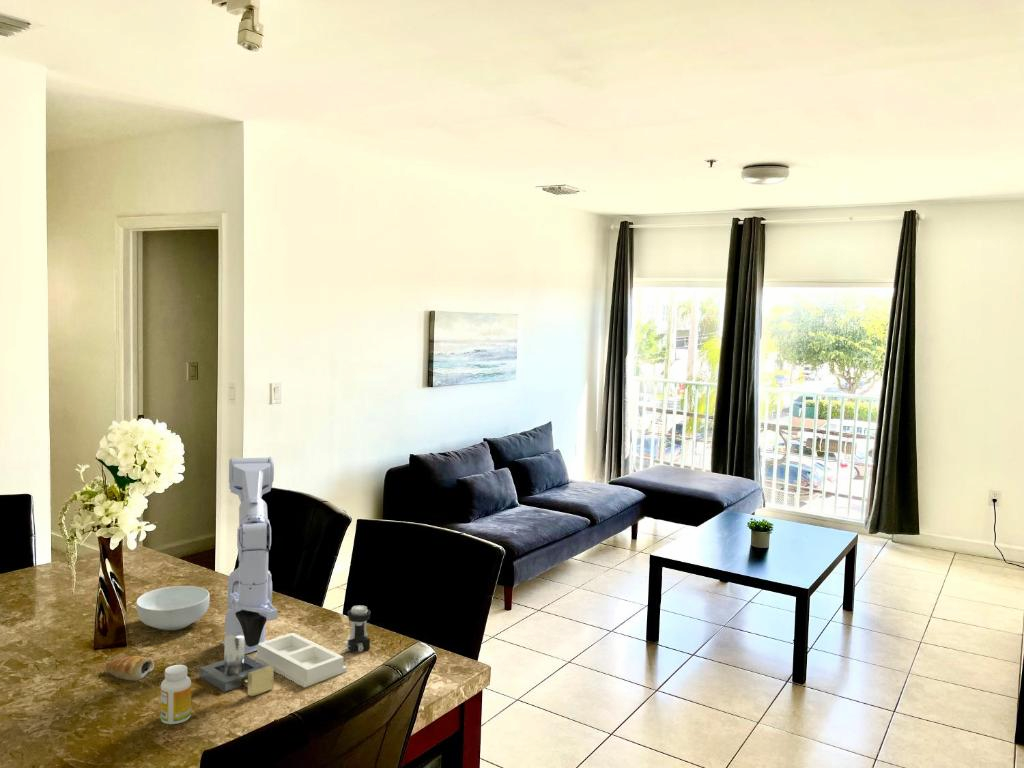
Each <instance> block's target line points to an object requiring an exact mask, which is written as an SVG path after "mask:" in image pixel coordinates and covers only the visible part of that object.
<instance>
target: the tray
mask: <svg viewBox="0 0 1024 768" xmlns="http://www.w3.org/2000/svg"><path fill="white" fill-rule="evenodd" d="M267 640H268V639H267ZM344 659H345V657H344V656H343V655H341V654H339V653H337V652H335V651H332V650H330V649H328V648H326V647H324V646H322V645H320V644H318V643H316V642H313V641H311V640H309V639H307V638H305V637H303V636H301V635H299V634H297V633H295V632H291V633H290V632H289V633H287V634H284V635H281V636H278V637H274V638H272V639H269V640H268V641H265V642H262V643H259V644H258V645H257V651H256V654H255V655H253V660H255V661H257V662H259V663H260V664H262V665H264V666H269V665H270V666H272V667H274V672H275V673H277V674H278V675H280V674H281V675H280V676H282V675H283V676H282V677H284V676H285V677H284V678H285V679H288V680H290V681H291V680H292V681H291V682H293V681H294V682H293V683H295V684H297V685H299V686H301V687H302V688H306V687H309V686H312V685H315V684H317V683H321V682H322V681H326V680H329V679H331V678H333V677H335V676H338V675H341V674H343V673H346V672H347V671H348V668H347V666H345V665H344V662H345V661H344Z"/></svg>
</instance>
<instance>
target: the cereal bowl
mask: <svg viewBox="0 0 1024 768" xmlns="http://www.w3.org/2000/svg"><path fill="white" fill-rule="evenodd" d="M210 599H211V595H210V592H209V591H208V590H207V589H206V588H203V587H199V586H194V585H173V586H167V587H159V588H157V589H154V590H149V591H148V592H145V593H143V594H142V595H140V596H139V597H138V598H137V600H136V601H135V602H136V604H135V607H136V608H135V609H136V613H137V617H138V619H139V620H140V621H141V622H142V623H143V624H144V625H146V626H148V627H151V628H155V629H159V630H162V631H178V630H182V629H185V628H187V627H189V626H190V625H191V624H193V623H195V622H197V621H199V620H200V619H201V618H202V617H203V616H204V615H205V614H206V613H207V611H208V609H209V606H210V601H211V600H210Z"/></svg>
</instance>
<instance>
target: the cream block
mask: <svg viewBox="0 0 1024 768" xmlns="http://www.w3.org/2000/svg"><path fill="white" fill-rule="evenodd" d="M274 672H275V671H274V667H272V666H270V665H269V666H266V667H263V668H260V669H257V670H255V671H252V672H249V673H248V677H246V678H243V679H242V681H241V685H243V686H244V687H246V688H247V695H248V696H250V697H254V696H257V695H260V694H263V693H265V692H268V691H271V690H273V689H274V681H275V680H274V676H275V675H274V674H275V673H274Z"/></svg>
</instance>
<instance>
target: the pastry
mask: <svg viewBox="0 0 1024 768" xmlns="http://www.w3.org/2000/svg"><path fill="white" fill-rule="evenodd" d="M154 668H155V662H154V661H153V659H152V658H151V657H149V656H148V657H145V656H141V655H133V656H123V657H122V658H121V657H119V658H115V659H114V660H110V661H109V662H107V663H106V664H105V670H106V672H107V673H108V674H109V675H112V676H114V677H115V678H116V679H123V680H127V681H139V680H141V679H143V678H144V677H145V676H146V675H148V674H149V673H150V672H152V671H153V670H154Z"/></svg>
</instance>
